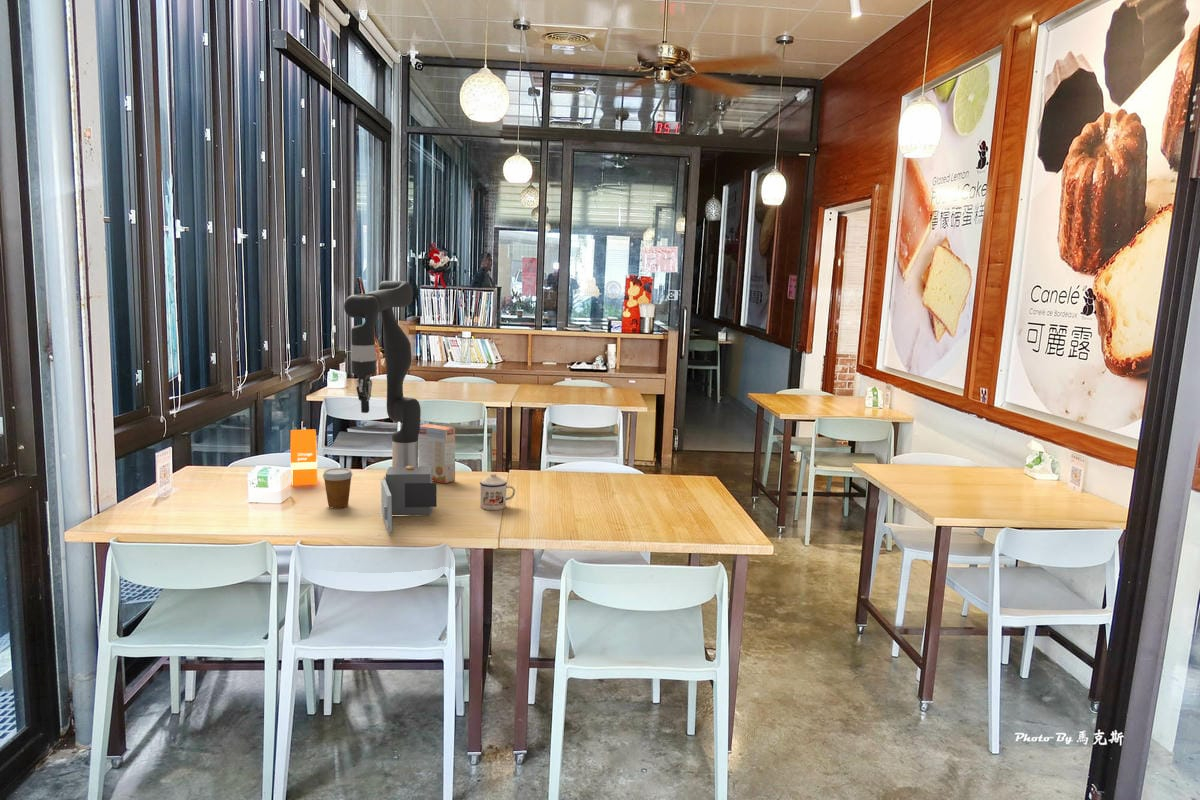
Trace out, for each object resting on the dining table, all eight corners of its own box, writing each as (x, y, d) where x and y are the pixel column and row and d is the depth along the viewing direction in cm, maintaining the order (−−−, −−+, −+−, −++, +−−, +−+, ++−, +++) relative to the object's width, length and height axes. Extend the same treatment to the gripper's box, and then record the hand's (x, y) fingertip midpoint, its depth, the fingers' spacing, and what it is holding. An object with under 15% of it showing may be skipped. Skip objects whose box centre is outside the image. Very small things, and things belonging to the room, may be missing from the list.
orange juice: (292, 480, 294) (291, 428, 291) (317, 479, 296) (316, 427, 293) (291, 485, 286) (289, 432, 283) (317, 484, 289) (315, 431, 286)
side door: (385, 512, 254) (385, 479, 252) (391, 531, 235) (391, 495, 233) (379, 512, 253) (378, 479, 251) (384, 531, 234) (384, 496, 233)
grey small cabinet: (385, 507, 263) (385, 464, 261) (437, 506, 266) (437, 464, 264) (382, 516, 254) (381, 472, 251) (436, 515, 256) (436, 471, 254)
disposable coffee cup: (352, 509, 261) (352, 474, 259) (322, 510, 258) (321, 475, 256) (353, 501, 270) (352, 467, 268) (324, 502, 267) (323, 468, 265)
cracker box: (455, 481, 300) (456, 427, 297) (444, 484, 295) (444, 429, 292) (429, 475, 307) (428, 422, 304) (417, 478, 302) (417, 425, 299)
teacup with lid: (480, 511, 263) (480, 477, 261) (479, 503, 272) (479, 470, 270) (516, 510, 265) (516, 476, 263) (513, 502, 274) (514, 470, 272)
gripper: (356, 356, 255) (357, 408, 258) (346, 361, 242) (348, 416, 245) (379, 356, 256) (380, 408, 259) (371, 361, 243) (373, 416, 246)
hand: (365, 412), depth 252 cm, fingers closed
